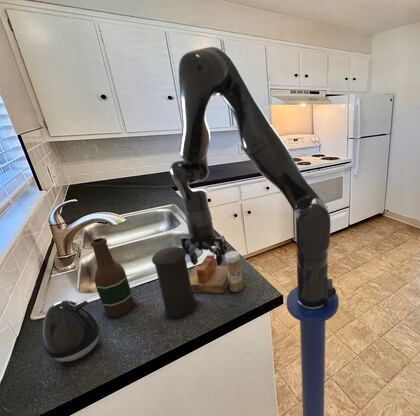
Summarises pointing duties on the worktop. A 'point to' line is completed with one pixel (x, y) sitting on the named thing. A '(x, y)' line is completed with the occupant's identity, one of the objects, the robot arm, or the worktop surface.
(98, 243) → the beer bottle
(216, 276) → the holder base
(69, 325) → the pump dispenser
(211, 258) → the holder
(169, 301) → the container
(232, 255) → the sprinkles bottle
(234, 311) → the worktop surface
